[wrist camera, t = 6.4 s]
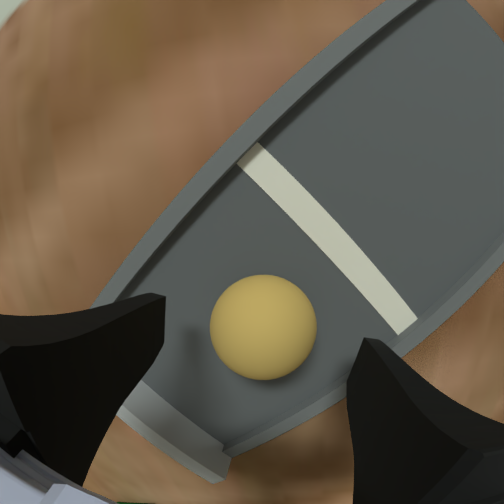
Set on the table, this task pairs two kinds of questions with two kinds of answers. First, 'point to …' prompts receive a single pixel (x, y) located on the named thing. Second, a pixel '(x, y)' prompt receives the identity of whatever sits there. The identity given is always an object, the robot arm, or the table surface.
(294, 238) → the lane mat
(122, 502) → the milk carton
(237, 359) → the ball
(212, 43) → the table surface
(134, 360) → the robot arm
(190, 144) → the table surface
